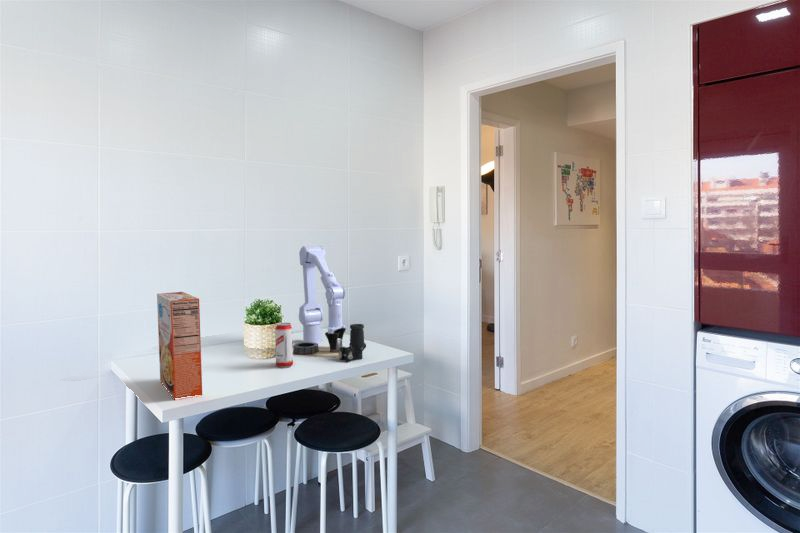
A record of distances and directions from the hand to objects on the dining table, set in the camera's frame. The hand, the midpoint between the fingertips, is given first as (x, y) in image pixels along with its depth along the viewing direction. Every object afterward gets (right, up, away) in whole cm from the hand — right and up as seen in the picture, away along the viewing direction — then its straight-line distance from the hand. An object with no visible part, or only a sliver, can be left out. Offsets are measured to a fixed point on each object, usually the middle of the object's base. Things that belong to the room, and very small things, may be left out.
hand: (335, 347), depth 208 cm
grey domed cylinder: (0, -2, 0) cm, 2 cm away
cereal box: (-44, -6, -47) cm, 65 cm away
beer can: (-17, -4, -20) cm, 27 cm away
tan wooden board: (-6, -2, 0) cm, 6 cm away
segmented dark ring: (-12, -2, -1) cm, 12 cm away
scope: (+9, -3, -13) cm, 16 cm away
